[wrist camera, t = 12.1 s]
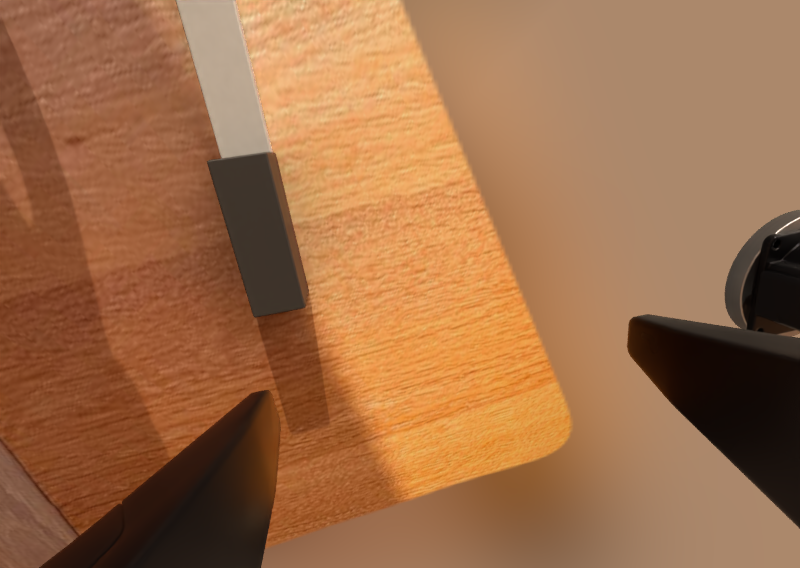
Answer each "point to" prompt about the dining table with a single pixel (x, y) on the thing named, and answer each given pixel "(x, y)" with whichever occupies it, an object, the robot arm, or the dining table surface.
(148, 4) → the dining table surface
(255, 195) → the two-tone stick
